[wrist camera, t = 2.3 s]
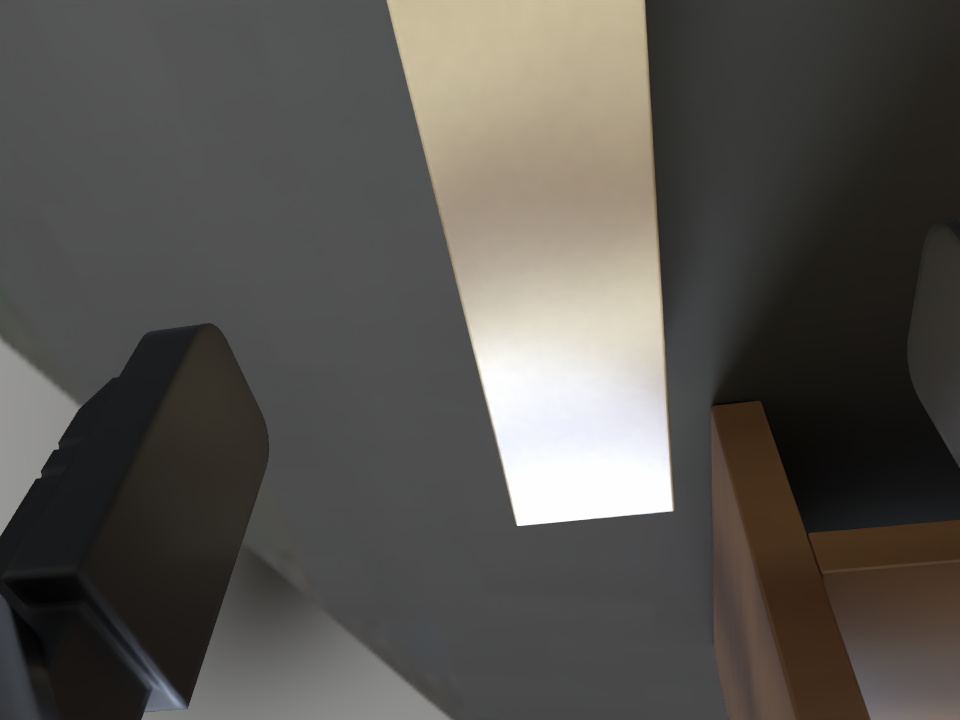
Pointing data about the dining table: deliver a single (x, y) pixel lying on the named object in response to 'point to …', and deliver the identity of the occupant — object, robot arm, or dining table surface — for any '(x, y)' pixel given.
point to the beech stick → (551, 238)
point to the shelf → (824, 598)
